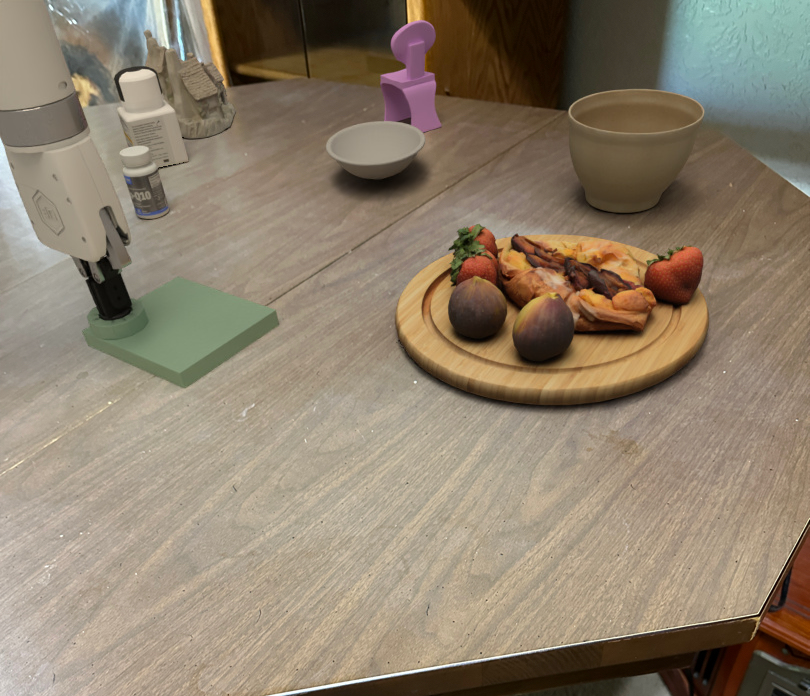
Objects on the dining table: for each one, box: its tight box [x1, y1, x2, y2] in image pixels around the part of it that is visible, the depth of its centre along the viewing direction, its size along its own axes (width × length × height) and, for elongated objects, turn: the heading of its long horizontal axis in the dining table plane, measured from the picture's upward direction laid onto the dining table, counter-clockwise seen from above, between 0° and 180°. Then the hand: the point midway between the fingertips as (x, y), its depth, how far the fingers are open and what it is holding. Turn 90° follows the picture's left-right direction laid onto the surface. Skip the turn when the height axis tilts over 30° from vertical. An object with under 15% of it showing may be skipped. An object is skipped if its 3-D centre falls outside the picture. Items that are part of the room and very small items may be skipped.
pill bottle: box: [119, 146, 170, 220], centre depth 101 cm, size 5×5×8 cm
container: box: [113, 65, 189, 168], centre depth 114 cm, size 8×8×13 cm
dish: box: [325, 120, 426, 180], centre depth 105 cm, size 18×14×5 cm
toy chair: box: [379, 19, 442, 133], centre depth 117 cm, size 8×9×15 cm
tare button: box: [101, 308, 131, 321], centre depth 78 cm, size 3×3×2 cm
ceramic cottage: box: [143, 29, 237, 140], centre depth 127 cm, size 16×16×15 cm
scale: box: [81, 276, 280, 389], centre depth 78 cm, size 16×14×4 cm
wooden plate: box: [394, 223, 710, 406], centre depth 73 cm, size 32×32×8 cm
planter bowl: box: [567, 88, 705, 214], centre depth 92 cm, size 16×16×11 cm
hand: (116, 310), depth 77 cm, fingers closed
